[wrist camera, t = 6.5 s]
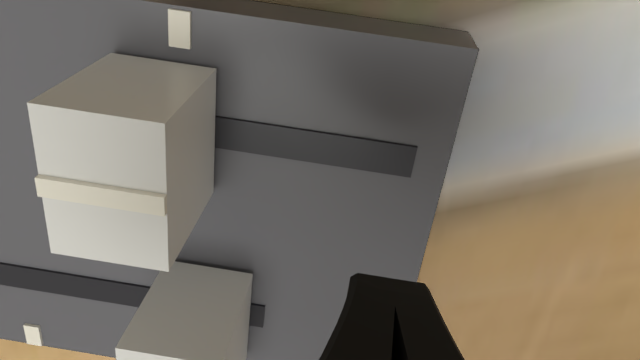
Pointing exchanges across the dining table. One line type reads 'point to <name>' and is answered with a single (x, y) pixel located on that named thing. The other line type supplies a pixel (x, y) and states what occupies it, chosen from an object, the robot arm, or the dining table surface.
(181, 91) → the near fader knob
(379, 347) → the robot arm
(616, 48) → the dining table surface
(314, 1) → the dining table surface
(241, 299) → the far fader knob
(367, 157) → the panel
